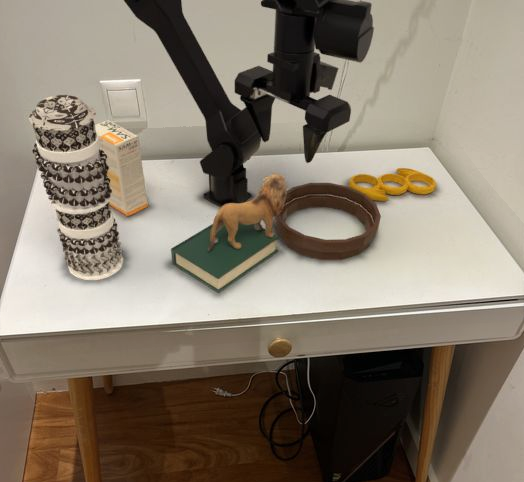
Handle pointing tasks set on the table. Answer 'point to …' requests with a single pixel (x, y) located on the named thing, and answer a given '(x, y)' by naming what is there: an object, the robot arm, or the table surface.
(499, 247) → the table surface
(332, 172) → the table surface
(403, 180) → the novelty glasses
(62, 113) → the decorative candle
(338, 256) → the ring
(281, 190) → the lion figurine
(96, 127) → the supplement box
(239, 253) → the book
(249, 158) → the robot arm
